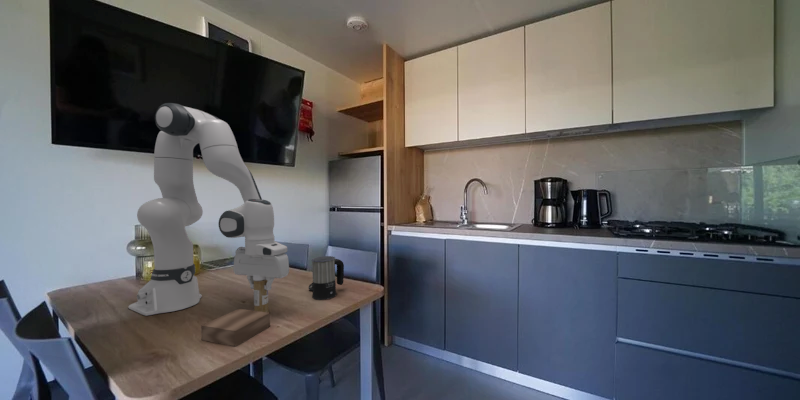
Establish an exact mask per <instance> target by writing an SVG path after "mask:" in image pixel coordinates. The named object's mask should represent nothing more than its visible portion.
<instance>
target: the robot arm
mask: <svg viewBox="0 0 800 400" xmlns="http://www.w3.org/2000/svg"><path fill="white" fill-rule="evenodd" d="M154 122H155V125H156V127H157V128H158V130H160V131H159V132H158V134H157V137H156V140H155V145H154V153H153V154H154V155H153V160H154V161H153V181H154V182H155V184H156V185H157V186H158V188H159V190H160V194H161V196H162V197H159V198H154V199H151V200H149V201H146V202H144V203H142V204H141V205H140V206H139V208H138V209H137V213H136V215H137V216H136V217H137V220H138V222H139V224H140V225H141V226H142V227H143V228H144V229H146V230H147V233H148V235H149V238H150V239H151V243H152V247H153V259H154V264H153V265H154V268H153V269H150V270H149V272H150V274H151V277H150V280H149V281H148V282H147V283H146V284H144V285H143V286H141V287H140V289H138V293H137V294H136V299H137V301H136V302H133V303H131V304H129V305H128V309H129V310H131V311H134V312H136V313H138V314H140V315H143V316H152V315H153V316H154V315H157V314H164V313H170V312H175V311H181V310H184V309H187V308H191V307H192V306H195V305H197V304H199V303H200V301H201V300H200V299H201V298H202V296H203V295H202V293H200V289H199V281H198V277H197V276H195V274H196V264H195V263H194V243H193V242H192V241H191V239H190V238H189V236H188V234H187V230H186V227H189V226H191V225H193V224H195V223H196V222H198V221H199V220H200V219H201V218H202V216H203V214H204V211H203V207H202V206H201V204H200V203H199V199H198V197H197V194H196V189H195V185H194V149H195V147H196V146H197V145H199V148H200V152H201V156H202V161H203V164H204V165H205V168H206V169H207V170H208V171H209V172H210V173H212V174H213V175H215V176H216V177H219V178H221V179H223V180H226V181H228V182H229V183H232V184H233V185H234V186H235V187H236V188H237V189H238V190H239V193H240V195H241V198H242V201H243V202H244V203H243V204H241V205H239V206H238V207H234V208H233V209H228V210H226V211H223V213H221V215H220V217H219V218H218V229H219V231H220V233H221V235H223V236H224V237H226V238H230V239H235V238H243V237H244V246H240V247H238V248H236V249H235V255H234V259H233V269H232V270H233V273H234V274H235V275H239V276H246V279H247V281H248V283H249V287H250V289H251V290H254V280H253V275H260V276H261V277H266V280H268V281H267V284H266V285H264V290H268V291H271V290H272V284H273V282H274V281H275V279H283V278H285V277H288V274H289V273H290V262H289V256H288V254H287V253H288V246H286V245H284V244H283V243H280V242H278V241H276V240H275V234H274V227H275V215H274V214H275V213H274V207H273V205H272V202H270V201H268V200H266V199H263V198H262V196H261V193H260V190H259V188H258V186H257V183H256V181H255V178H254V175H253V173H252V172H251V170H250V169H249V167H247V165H246V164H245V162H244V159H243V158H242V156H241V154H240V150H239V148H238V143H237V141H236V137H235V135H234V132H233V131H232V129H231V127H230V124H228V122H226V121H224V120H222V119H220V118H219V117H217V116H216V115H213V114H210V113H208V112H205V111H203V110H200V109H197V108H192V107H188V106H184V105H182V104H179V103H174V102H165V103H162V104H161V105H160V106H158V108H157V109H156V112H155V114H154Z"/></svg>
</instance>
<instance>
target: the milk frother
mask: <svg viewBox="0 0 800 400" xmlns="http://www.w3.org/2000/svg"><path fill="white" fill-rule="evenodd" d="M311 263H312V264H311V266H312V267H311V268H312V271H311V272H312V282H311V283H310V284H309V285H308V287H307V288H308V290H309V291H311V292H312V295H311V297H312V298H313V299H314V300H319V301H320V300H322V301H324V300H330V299H333V298H335V297H336V296H337V290H336V289H337V287H336V284H338V285H339V286H341V285H343V284H344V274H345V270H344V269H345V264H344V262H343V260H341V259H339V258H336V257H335V256H332V255H331V256H330V255H322V256H316V257H312V258H311ZM335 265H336V267H335Z"/></svg>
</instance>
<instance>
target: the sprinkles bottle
mask: <svg viewBox="0 0 800 400" xmlns="http://www.w3.org/2000/svg"><path fill="white" fill-rule="evenodd" d="M253 280H254V289H253V306H254V308H253V309H254V310H253V311H260V312H267V313H270V309H269V290H264V285H266V284H267V281H268V280H266V277H261V276H260V275H253Z"/></svg>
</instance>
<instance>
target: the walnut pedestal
mask: <svg viewBox="0 0 800 400" xmlns="http://www.w3.org/2000/svg"><path fill="white" fill-rule="evenodd" d="M200 326H201V330H200V331H201V334H200V335H201V341H205V342H211V343H216V344H219V345H220V344H222V345H226V346H232V347H237V346H239V345H241V344H242V343H244V342H246V341H248V340H249V339H251V338H253V337H254V336H256V335H258V334H260V333H261V332H263V331H264V330H267V329H268V328H269V327H271V312H268V313H267V312H260V311H254V310H250V309H245V308H244V309H243V308H237V309H235V310H232V311H230V312H228V313H225V314H223V315H221V316H219V317H217V318H215V319H212V320H209V321H208V322H206V323H204V324H201V325H200Z"/></svg>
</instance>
